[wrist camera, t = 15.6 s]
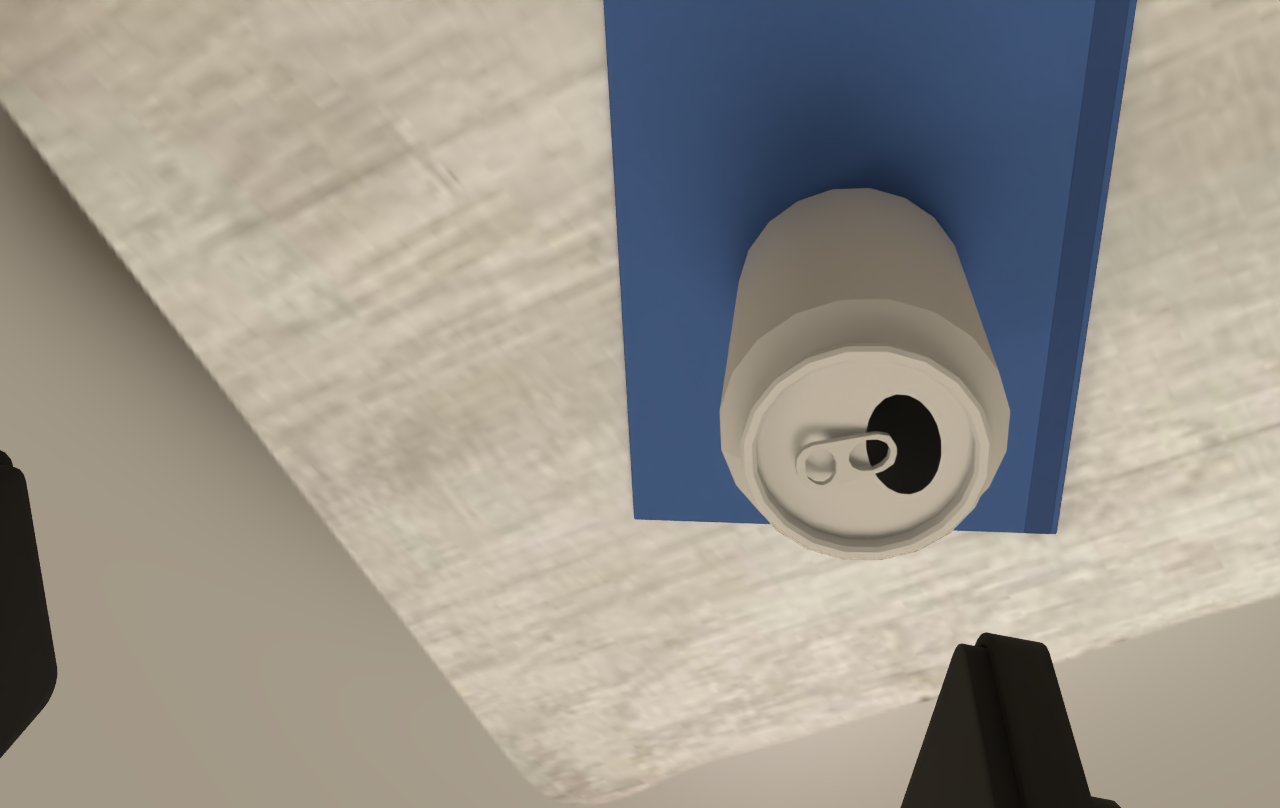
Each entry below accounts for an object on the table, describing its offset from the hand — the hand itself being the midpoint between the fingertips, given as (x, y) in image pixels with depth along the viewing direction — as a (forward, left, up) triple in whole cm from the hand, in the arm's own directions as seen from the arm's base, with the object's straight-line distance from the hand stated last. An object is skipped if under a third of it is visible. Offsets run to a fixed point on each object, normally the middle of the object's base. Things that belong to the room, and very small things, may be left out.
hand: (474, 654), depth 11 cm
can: (+6, +6, -28) cm, 29 cm away
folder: (+6, +6, -28) cm, 30 cm away
